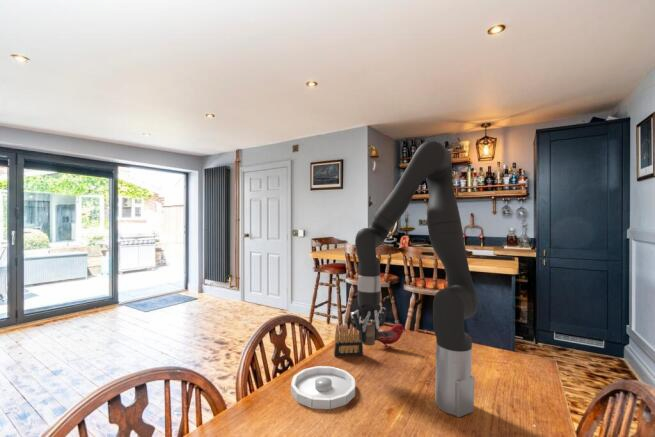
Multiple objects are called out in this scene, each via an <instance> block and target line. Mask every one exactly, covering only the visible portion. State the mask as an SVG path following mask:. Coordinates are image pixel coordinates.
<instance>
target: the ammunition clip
mask: <svg viewBox="0 0 655 437" xmlns="http://www.w3.org/2000/svg"><path fill="white" fill-rule="evenodd" d="M339 328H340V329H339ZM363 345H364V344H363V343H362V342H361V341H360V340H359V332H358V330H357V329H355V328H354V326H353V323H350V325H349V326H348V323H346V324H345V329H344V325H343V323H341V325H340V327H339V324H338V323H337V324H336V325H335V334H334V349H333V350H334V351H333V352H334V354H333V355H334V357H336V358H337V357H339V358H340V357H359V356H360V357H363V356H364V351H363V350H364V349H363V347H364V346H363Z"/></svg>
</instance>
